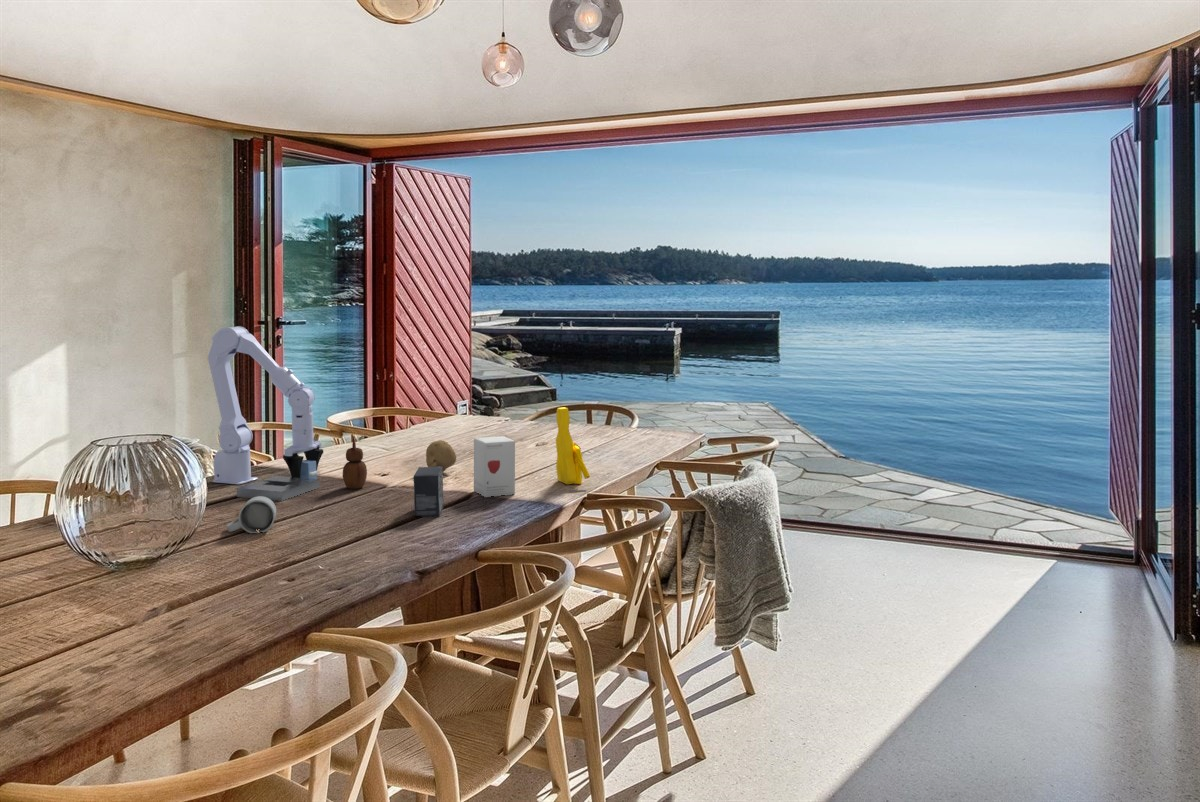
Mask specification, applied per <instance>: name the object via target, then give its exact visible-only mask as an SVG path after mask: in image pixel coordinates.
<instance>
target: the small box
mask: <svg viewBox="0 0 1200 802" xmlns="http://www.w3.org/2000/svg"><path fill="white" fill-rule="evenodd" d="M443 474H444V472H443V468H442V467H428V466H424V467H423V466H422V467H421V466H419V467H418V468H417V470H416V472H415V473H414V474H413V504H414V505H413V508H414V517H415V516H421V517H423V518H424V517H425V518H426V517H427V516H439V517H440V516H441V514H442V513H443V512H442V511H443V509H444V506H445V503H444V502H445V501H444V475H443ZM421 517H420V518H421Z"/></svg>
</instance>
